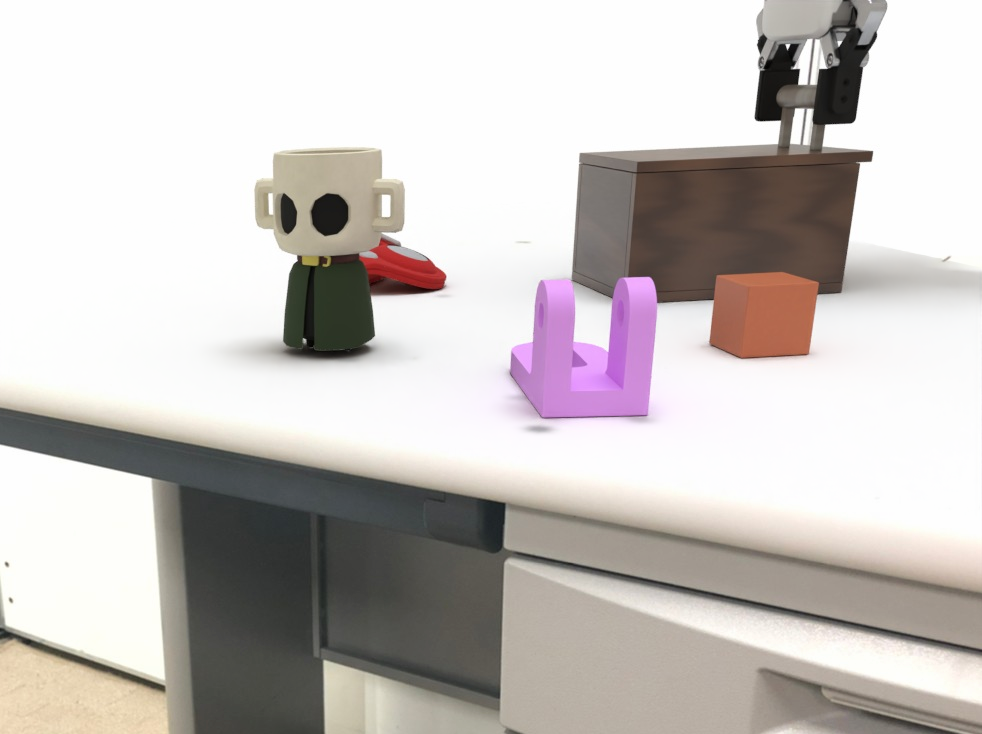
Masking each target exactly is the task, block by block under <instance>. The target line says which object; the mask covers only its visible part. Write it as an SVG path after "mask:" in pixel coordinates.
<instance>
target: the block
mask: <svg viewBox="0 0 982 734" xmlns="http://www.w3.org/2000/svg"><path fill="white" fill-rule="evenodd" d="M818 286H819V282H816V281H812V280H809V279H805V278H802V277H798V276H795V275H791V274H788V273H784V272H772V273H752V274H733V275H717V276H716V285H715V294H714V299H713V306H712V314H711V323H710V333H709V341H708V343H709V345H711V346H713V347H716V348H718V349H720V350H722V351H725V352H727V353H729V354H732V355H734V356H736V357H738V358H740V359H747V358H763V357H764V358H765V357H780V356H781V357H783V356H796V355H797V356H799V355H809V354H810V349H811V343H812V336H813V335H812V334H813V328H814V321H815V316H816V315H815V314H816V306H817V299H818V294H817V293H818Z"/></svg>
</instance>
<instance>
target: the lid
mask: <svg viewBox="0 0 982 734" xmlns="http://www.w3.org/2000/svg"><path fill="white" fill-rule="evenodd" d="M816 88H817V84H798V85H785V86H783V87H782V88H781V89H780V90H779V91H778V93H777V97H776V100H777V103H778V105H779V106H780V107H782V116H781V121H780V123H779V133H778V141H777V143H770V144H769V143H768V144H748V145H728V146H727V145H725V146H705V147H682V148H681V147H680V148H679V147H678V148H659V149H640V150H639V149H636V150H635V149H634V150H615V151H614V150H613V151H592V152H579V157H578V164H580V163H584V164H590V165H595V166H601V167H607V168H613V169H619V170H624V171H630V172H636V173H641V172H663V171H684V170H706V169H728V168H750V167H771V166H793V165H815V164H836V163H872V162H873V157H874V151H873V150H867V149H856V148H855V149H854V148H844V147H832V146H823V145H824V140H825V139H824V138H825V130H826V125H815V124H813V123H812V126H811V127H812V128H811V135H810V143H809V144H800V143H799V144H798V143H791V139H792V131H793V123H794V117H795V114H794V108H795V110H797V109H799V110H814V103H815V95H816ZM793 116H794V117H793Z"/></svg>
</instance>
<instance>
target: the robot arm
mask: <svg viewBox="0 0 982 734" xmlns="http://www.w3.org/2000/svg"><path fill="white" fill-rule="evenodd" d="M887 10H888V1H887V0H763V7H762V9H761V10H760V11H759V13H757V15H756V19H755V25H756V31H757V36H758V37H757V38H758V39H757V43H756V47H757V50H758V53H759V57H758V59H757V68H758V70H759V75H758V83H757V90H756V91H757V92H756V101H755V109H754V117H753V118H754V120H755V121H756V122H762V123H763V122H781V116H782V107H780V106H779V105H778V103H777V100H776V97H777V93H778V91H779V90H780V89H781V88H782V87H783V86H785V85H799V82H800V74H801V68H795V67H796V65H797V63H798V60H799V58H800V56H801V54H802V52H803V50H804V48H805V45H806V43H807V41H808V40H819V44H820V48H821V51H822V56H823V60H824V64H825V65H824V66H825V67H826V68H819V69H818V73H817V81H816V85H817V88H816V95H815V103H814V109H812V110H813V111H812V119H811V121H812V125H813V124H815V125H825V126H828V125H829V126H830V125H848V124H849V125H850V124H853V123H854V122H855V121H856V120H857V115H858V114H857V113H858V109H859V108H858V106H859V100H860V93H861V87H862V80H863V73H864V72H863V70H864V68H865V67H866V66H867V65H868V63H869V61H870V53H869V51H870V50H871V49H872V47H873V46H874V44H875V43H876V40H877V39H878V30H879V28H880V26H881V24H882V21H883V20H884V18H885V15H886V13H887ZM839 42H841V43H840V44H839ZM787 45H789V46H788V47H787ZM795 112H796V109H795V108H794V116H793V118H794V117H795Z"/></svg>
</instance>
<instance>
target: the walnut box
mask: <svg viewBox="0 0 982 734" xmlns="http://www.w3.org/2000/svg"><path fill="white" fill-rule="evenodd" d="M860 168H861V162H858V163H836V164H815V165H793V166H771V167H750V168H728V169H706V170H684V171H663V172H641V173H636V172H630V171H624V170H619V169H613V168H607V167H601V166H595V165H590V164H584V163H578V173H577V188H576V189H577V191H576V204H575V220H574V234H573V235H574V236H573V249H572V252H573V253H572V267H571V281H574V282H576V283H578V284H580V285H583V286H585V287H587V288H589V289H592V290H594V291H597V292H599V293H601V294H603V295H604V296H605V295H606V296H608V297H610V298H612V299H613V295H614V290H615V287H616V284H617V282H618V280H619V279H620V278H631V277H650V278H651V279H652V280H653V282H654V285H655V289H656V296H657V303H667V302H668V303H669V302H686V301H687V302H688V301H689V302H690V301H707V300H714V294H715V285H716V276H717V275H733V274H752V273H772V272H784V273H788V274H791V275H795V276H798V277H802V278H805V279H809V280H812V281H816V282H819V286H818V293H817V295H818V294H836V293H837V294H838V293H842V290H843V284H844V278H845V272H846V271H845V270H846V263H847V257H848V251H849V244H850V236H851V231H852V230H851V229H852V223H853V216H854V211H855V210H854V209H855V203H856V195H857V188H858V182H859V176H860V174H859V173H860Z"/></svg>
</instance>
